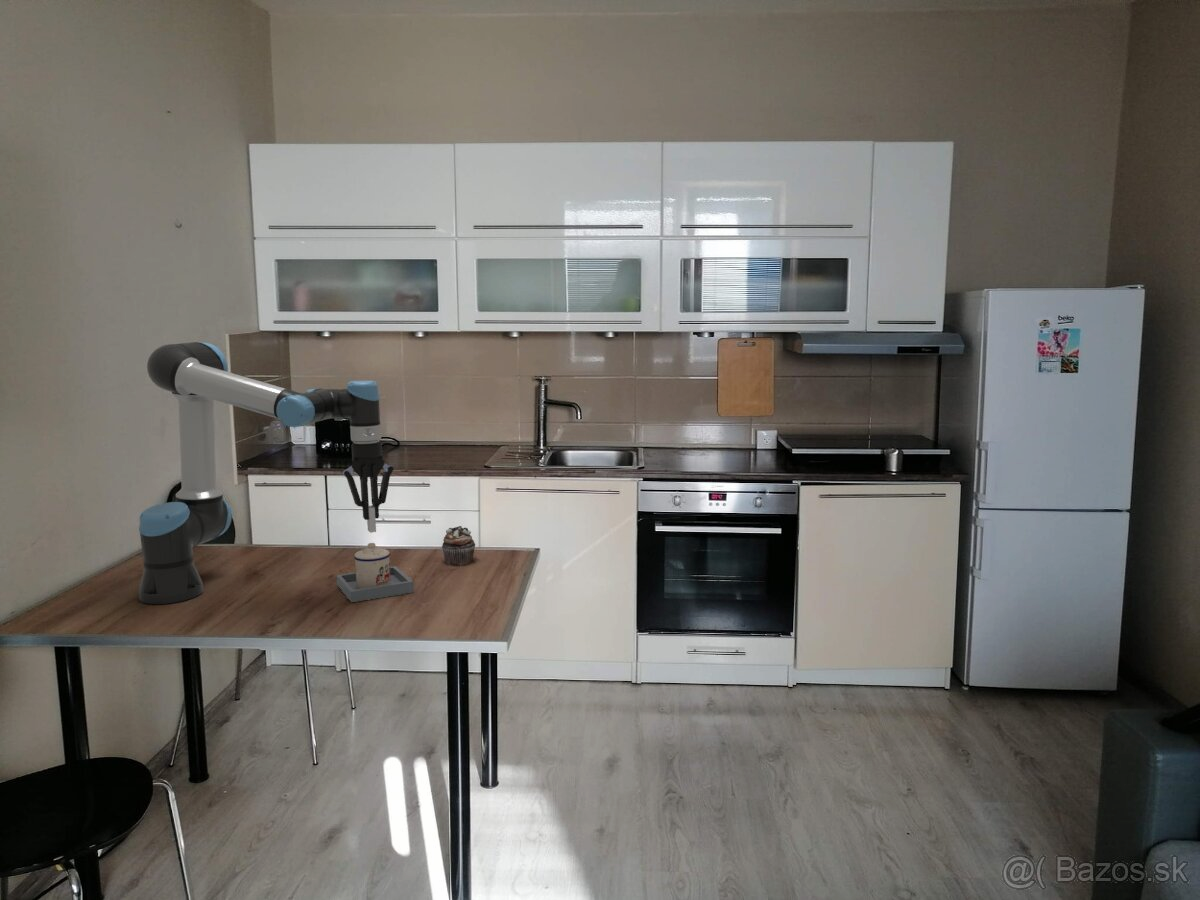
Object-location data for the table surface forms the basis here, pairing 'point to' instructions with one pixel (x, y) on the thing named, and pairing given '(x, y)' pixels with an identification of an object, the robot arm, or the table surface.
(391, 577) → the square tray
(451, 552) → the cupcake
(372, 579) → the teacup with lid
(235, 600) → the table surface
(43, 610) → the table surface
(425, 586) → the table surface
